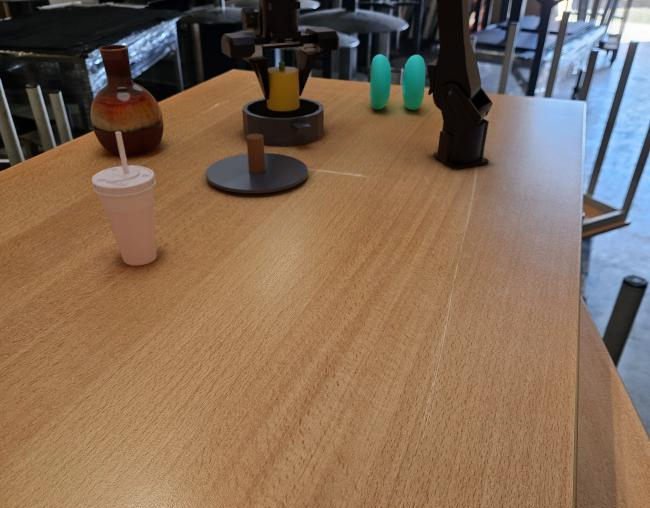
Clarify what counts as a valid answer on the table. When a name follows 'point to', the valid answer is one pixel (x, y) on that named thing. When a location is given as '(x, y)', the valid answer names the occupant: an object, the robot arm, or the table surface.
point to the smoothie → (129, 208)
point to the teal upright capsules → (411, 82)
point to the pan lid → (256, 170)
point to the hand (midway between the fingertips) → (283, 97)
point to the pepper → (283, 88)
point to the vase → (125, 108)
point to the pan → (284, 122)
